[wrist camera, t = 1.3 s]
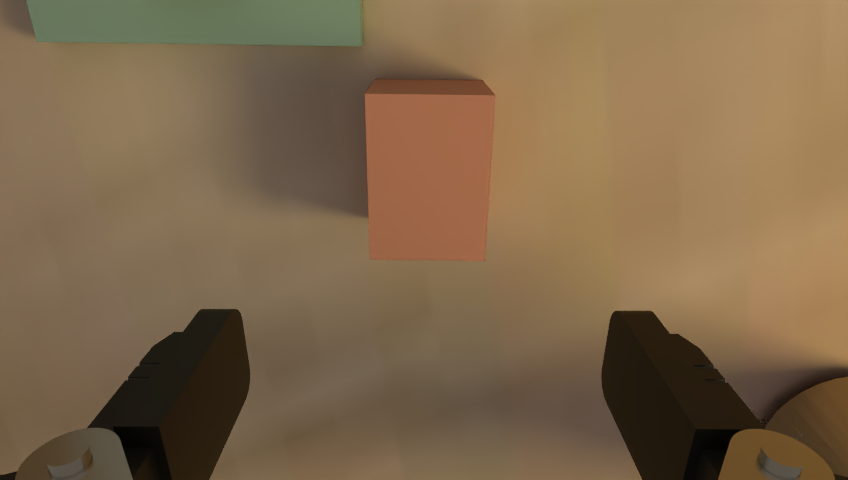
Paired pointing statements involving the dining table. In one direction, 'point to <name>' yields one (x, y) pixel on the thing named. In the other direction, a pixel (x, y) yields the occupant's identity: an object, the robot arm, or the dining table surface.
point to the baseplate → (200, 21)
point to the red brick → (428, 168)
